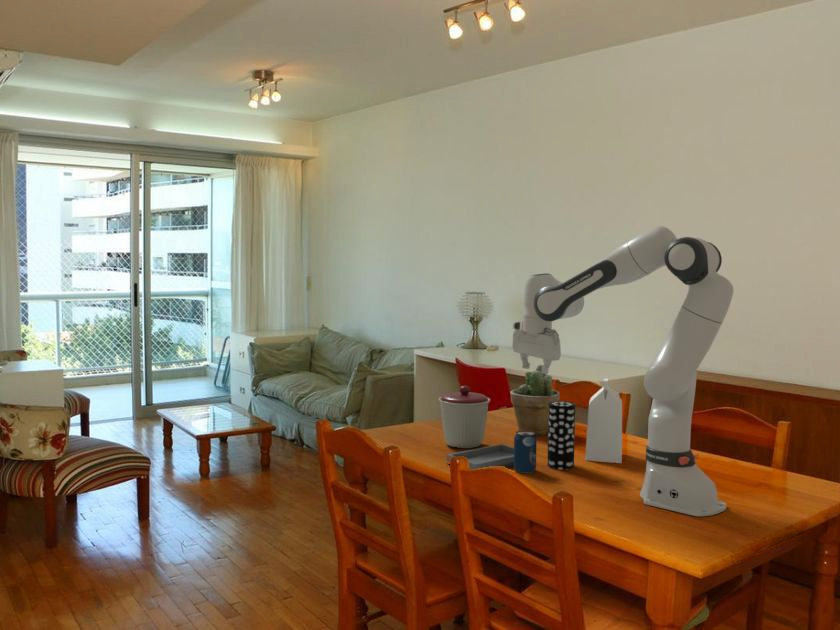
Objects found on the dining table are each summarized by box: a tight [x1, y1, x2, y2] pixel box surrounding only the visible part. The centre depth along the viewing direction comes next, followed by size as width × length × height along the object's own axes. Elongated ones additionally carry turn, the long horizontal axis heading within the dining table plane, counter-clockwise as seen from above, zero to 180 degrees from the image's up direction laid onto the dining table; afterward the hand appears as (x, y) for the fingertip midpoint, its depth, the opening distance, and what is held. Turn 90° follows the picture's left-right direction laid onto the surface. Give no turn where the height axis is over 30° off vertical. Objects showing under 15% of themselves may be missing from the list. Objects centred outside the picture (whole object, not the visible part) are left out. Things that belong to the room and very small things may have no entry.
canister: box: [438, 385, 491, 449], centre depth 260 cm, size 18×18×21 cm
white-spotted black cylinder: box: [546, 400, 576, 471], centre depth 235 cm, size 8×8×20 cm
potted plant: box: [509, 364, 561, 437], centre depth 279 cm, size 18×19×25 cm
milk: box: [584, 377, 623, 464], centre depth 246 cm, size 12×12×26 cm
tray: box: [446, 443, 514, 469], centre depth 238 cm, size 14×24×3 cm, turn 127°
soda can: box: [513, 430, 537, 474], centre depth 229 cm, size 7×7×12 cm
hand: (535, 370), depth 228 cm, fingers open, 8 cm apart
